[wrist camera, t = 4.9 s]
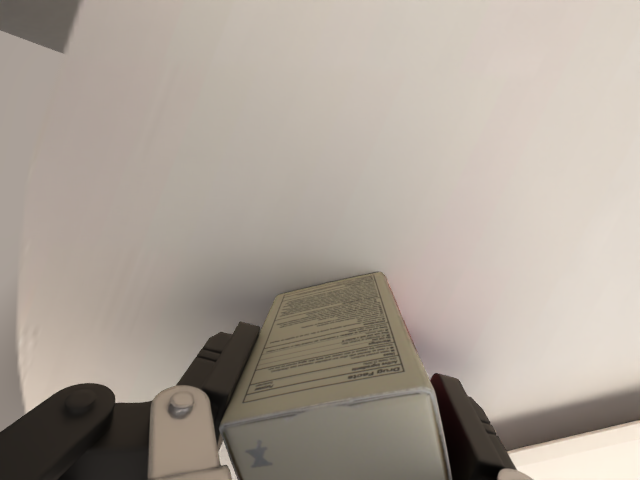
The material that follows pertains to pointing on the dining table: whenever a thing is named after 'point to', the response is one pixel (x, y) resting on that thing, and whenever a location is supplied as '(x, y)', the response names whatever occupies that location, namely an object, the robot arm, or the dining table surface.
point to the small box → (335, 392)
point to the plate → (584, 456)
